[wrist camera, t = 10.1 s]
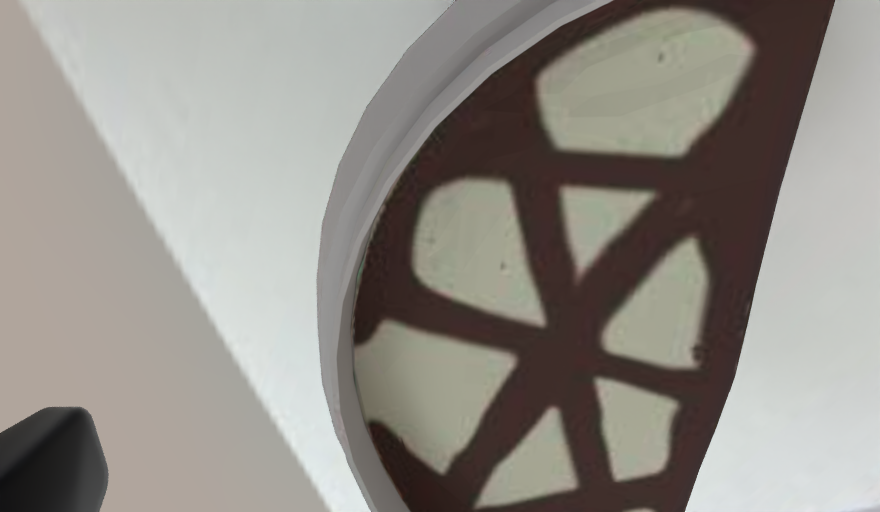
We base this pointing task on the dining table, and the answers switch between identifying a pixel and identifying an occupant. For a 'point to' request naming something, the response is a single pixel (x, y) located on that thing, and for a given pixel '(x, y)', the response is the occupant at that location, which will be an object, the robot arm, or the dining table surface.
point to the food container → (556, 248)
